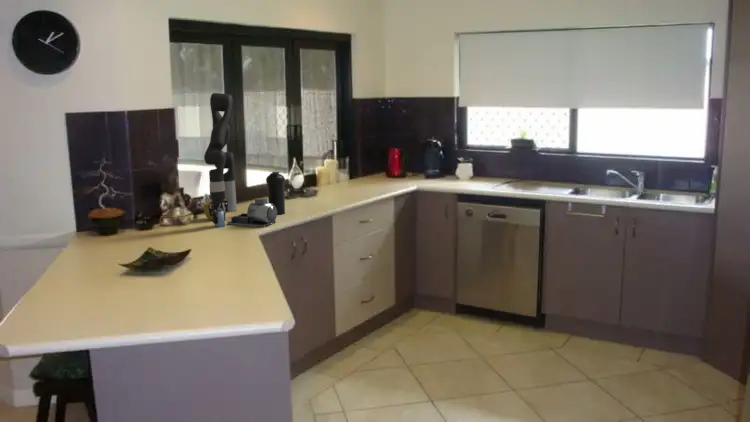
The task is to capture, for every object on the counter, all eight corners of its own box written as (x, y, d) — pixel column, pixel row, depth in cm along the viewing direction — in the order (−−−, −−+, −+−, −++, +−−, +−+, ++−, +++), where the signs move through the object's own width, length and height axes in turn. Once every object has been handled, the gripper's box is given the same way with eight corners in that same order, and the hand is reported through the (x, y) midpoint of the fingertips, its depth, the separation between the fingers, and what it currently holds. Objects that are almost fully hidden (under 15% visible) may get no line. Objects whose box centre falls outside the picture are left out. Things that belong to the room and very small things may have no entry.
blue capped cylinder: (212, 227, 357) (211, 209, 355) (218, 225, 362) (217, 207, 360) (221, 227, 355) (219, 209, 353) (226, 225, 360) (225, 208, 358)
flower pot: (219, 221, 371) (217, 204, 369) (203, 220, 373) (202, 204, 371) (225, 217, 379) (224, 201, 378) (210, 217, 381) (209, 201, 379)
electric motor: (227, 224, 363) (225, 199, 360) (240, 219, 373) (238, 195, 371) (267, 227, 353) (266, 201, 351) (279, 222, 364) (278, 197, 361)
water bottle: (288, 211, 392) (286, 171, 387) (284, 215, 382) (282, 173, 377) (270, 211, 393) (268, 171, 388) (265, 215, 383) (263, 173, 378)
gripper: (219, 187, 363) (221, 219, 366) (202, 192, 350) (204, 224, 353) (231, 188, 360) (233, 220, 363) (215, 192, 347) (217, 225, 350)
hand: (219, 222), depth 358 cm, fingers open, 6 cm apart
